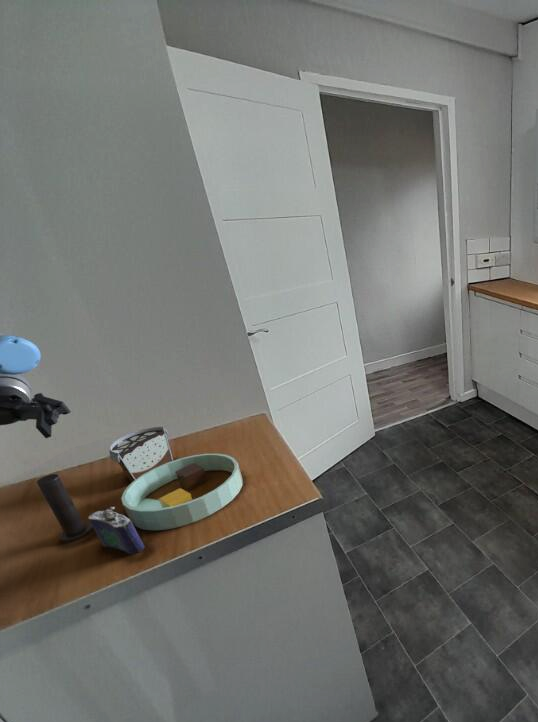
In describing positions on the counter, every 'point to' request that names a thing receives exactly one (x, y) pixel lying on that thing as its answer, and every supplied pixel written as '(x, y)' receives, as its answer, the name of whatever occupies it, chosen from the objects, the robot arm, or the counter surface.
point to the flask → (116, 531)
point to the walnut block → (191, 476)
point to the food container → (141, 451)
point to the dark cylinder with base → (63, 509)
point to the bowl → (158, 518)
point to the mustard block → (175, 498)
